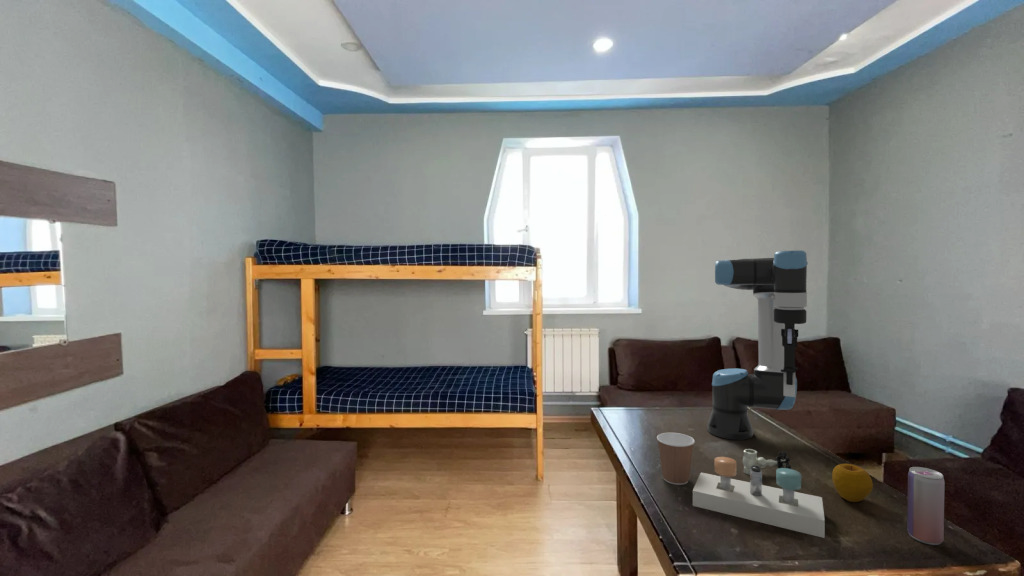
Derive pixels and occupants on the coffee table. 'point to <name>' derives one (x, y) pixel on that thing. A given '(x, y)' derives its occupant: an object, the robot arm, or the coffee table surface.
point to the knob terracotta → (725, 470)
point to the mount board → (761, 505)
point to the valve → (763, 460)
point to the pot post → (756, 481)
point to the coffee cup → (675, 456)
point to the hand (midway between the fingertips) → (789, 394)
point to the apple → (852, 482)
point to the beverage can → (925, 505)
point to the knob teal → (788, 483)
